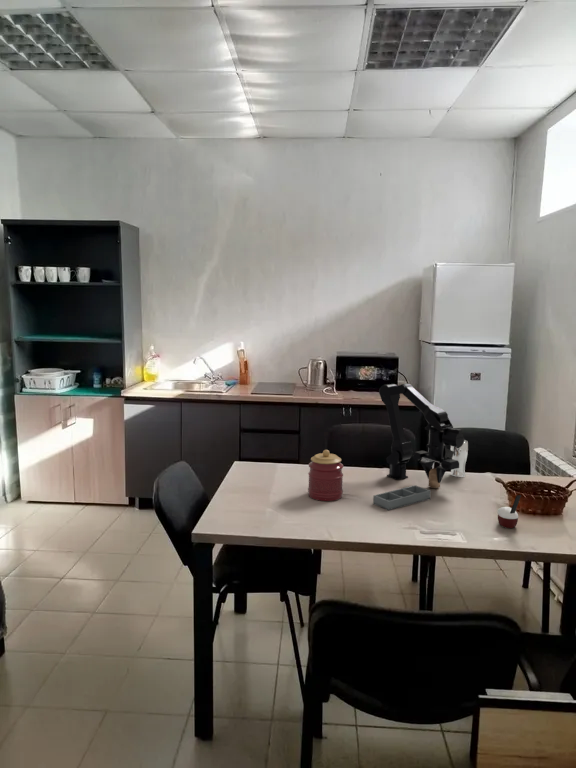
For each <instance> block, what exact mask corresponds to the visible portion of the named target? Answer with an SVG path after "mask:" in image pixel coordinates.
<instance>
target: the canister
mask: <svg viewBox="0 0 576 768" xmlns="http://www.w3.org/2000/svg"><path fill="white" fill-rule="evenodd" d="M341 462H342V458H341V457H339V456H338V455H337V454H334V453H330V450H328V449H324V450H323V451H322V453H321V452H320V453H317V454H314V456H312V457H311V458H310V462H309V463H308V468H309V472H308V473H307V474H308V488H307V491H308V492H307V493H308V496H309V498H311V499H313V500H315V499H316V501H321V502H332V501H338V500H340V499H341V498H342V496H343V495H344V494H343V491H344V490H343V482H344V481H343V480H344V479H343V477H344V473H343V468H344V464H343V463H341Z"/></svg>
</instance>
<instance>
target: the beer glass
mask: <svg viewBox="0 0 576 768" xmlns="http://www.w3.org/2000/svg"><path fill="white" fill-rule="evenodd" d="M450 450H451V451H454V454H453V457H452V459H454V460H457V461H458V462H459V468H456V469H452V470H450V473H449V474H450V476H451V477H454V478H465V477H466V471H465V470H466V464H467V463H466V462H467V459H468V455H469V454H468V451H469V442H468V440H466V439H464V443H463V445H462V446H461V447H460V448H459V447H454V446H450Z"/></svg>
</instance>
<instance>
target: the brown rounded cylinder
mask: <svg viewBox="0 0 576 768" xmlns="http://www.w3.org/2000/svg"><path fill="white" fill-rule="evenodd" d="M427 485H428V487H430V488H432V489H438V488H440V487H441V482H440V483H438V480H437V471H436V467H432V469H431V470H430V472H429V479H428V484H427Z"/></svg>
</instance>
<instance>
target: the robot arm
mask: <svg viewBox="0 0 576 768" xmlns="http://www.w3.org/2000/svg"><path fill="white" fill-rule="evenodd" d="M378 394H379V397H380V400H381V402H383V404H384V406H385V407H386V410H387V416H388V421H389V426H390V431H391V436H392V444H391V447H390V448H391V452H390V454H389V455H388V456H387V457H386V458H385V459H386V463H387V464H389V473H388V474H386V477H387V478H388V477H389V478H390V479H394V480H403V479H408V478H409V476H408V475H407V467H406V465H407V463H409V461H410V459H411V458H412V459H413V460H416V461H419V464H420V465H421V466H422V469H423V470H424V472H425V474H426V477H427V479H428V480H429V472H430V470H431V469H433V466H434V463H437V464H439V466H436V467H435V468H436V471H437V480H438V483H440V484H441V482H442V480H443V477H444V476H445V473H446V472H447V470H449V471H451V470H452V469H456V468H459V462H458V461H457V460H454V459H452V457H453V454H454V451H451V449H448V448H447V446H450V447H451V446H454V447H459V448H460V447H461V446H462V445H463V443H464V440H465V437H464V436H465V435H464V433H463V432H462V429H460V428H454V426H453V423H452V422H451V420H450V419H449V416H448V415H449V414H448V413H447V411H445V410H444V409H442V408H441V407H439V406H437V405H435V404H432V403H431V402H430V401H428V400H427V399H426V398H425V397H424V396H423V395H422V394H421V393H420V392H419V391H418V390H416V389H415V388H414V387H413V385H412V384H410V383H402V384H399V385H398V384H395V383H391V384H390V383H389V384H388V383H387V384H383V385H381V386H380V387H379V390H378ZM401 395H403V396H404V397H405V398H406V399H407V400H409V402H411V403H412V404H413V405H414V406H415V407H416V408H417V409H418V410H420V412H421V413H422V414H423V416H424V419H425V420H426V422H427V423H428V424H427V426H425V427H424V430H427V431H429V434H428V443H427V444H426V448H427V449H428V451H425V450H419V451H414V449H413V446H412V441H411V440H410V441H408V440H407V439H406V436H405V431H404V425H403V422H402V416H401V411H400V407H399V403H400V402H399V401H400V399H401Z"/></svg>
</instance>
